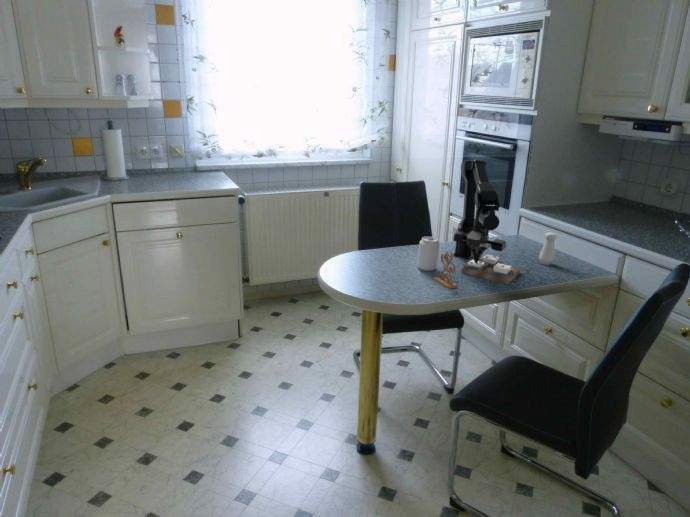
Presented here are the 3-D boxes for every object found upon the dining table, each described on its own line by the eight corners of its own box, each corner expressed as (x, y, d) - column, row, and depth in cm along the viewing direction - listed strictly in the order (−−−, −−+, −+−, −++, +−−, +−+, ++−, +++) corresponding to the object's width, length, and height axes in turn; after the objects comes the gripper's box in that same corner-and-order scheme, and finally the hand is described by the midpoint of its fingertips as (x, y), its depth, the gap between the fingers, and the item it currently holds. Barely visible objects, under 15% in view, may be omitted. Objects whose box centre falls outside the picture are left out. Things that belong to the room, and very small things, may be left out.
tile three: (466, 267, 194) (467, 262, 193) (471, 264, 198) (472, 259, 197) (479, 270, 191) (480, 265, 191) (484, 267, 195) (484, 262, 195)
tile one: (493, 271, 188) (493, 266, 188) (497, 267, 192) (498, 262, 192) (506, 274, 186) (507, 269, 185) (510, 270, 190) (511, 265, 189)
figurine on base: (457, 287, 179) (462, 255, 175) (448, 288, 178) (453, 256, 174) (442, 278, 187) (446, 247, 183) (433, 279, 185) (437, 248, 181)
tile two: (481, 261, 198) (482, 256, 197) (485, 258, 202) (486, 253, 201) (494, 264, 195) (495, 259, 195) (498, 261, 199) (499, 256, 199)
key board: (461, 272, 194) (462, 264, 193) (474, 262, 206) (475, 255, 205) (507, 284, 185) (509, 276, 184) (519, 273, 197) (521, 265, 196)
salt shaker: (553, 266, 207) (560, 235, 203) (539, 264, 208) (545, 234, 204) (551, 262, 213) (557, 232, 208) (537, 260, 214) (542, 230, 209)
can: (438, 267, 198) (442, 237, 194) (433, 273, 192) (437, 242, 188) (420, 263, 201) (423, 234, 197) (414, 269, 194) (417, 239, 190)
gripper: (450, 222, 187) (444, 262, 192) (500, 232, 178) (493, 274, 183) (461, 216, 196) (456, 255, 201) (509, 226, 187) (502, 266, 192)
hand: (476, 262), depth 194 cm, fingers closed, pressing on tile three
